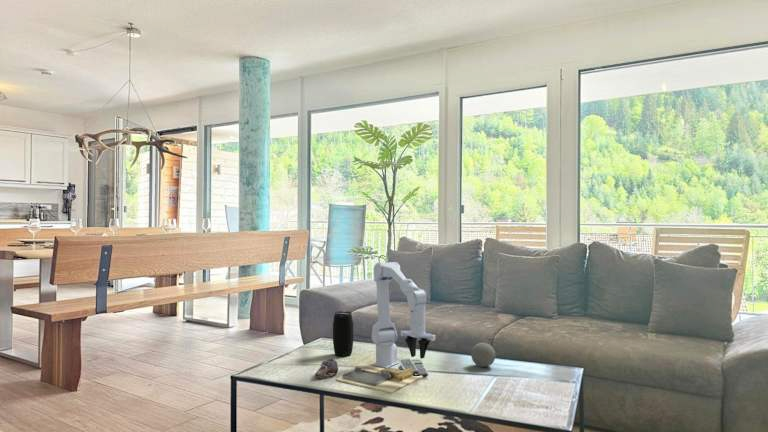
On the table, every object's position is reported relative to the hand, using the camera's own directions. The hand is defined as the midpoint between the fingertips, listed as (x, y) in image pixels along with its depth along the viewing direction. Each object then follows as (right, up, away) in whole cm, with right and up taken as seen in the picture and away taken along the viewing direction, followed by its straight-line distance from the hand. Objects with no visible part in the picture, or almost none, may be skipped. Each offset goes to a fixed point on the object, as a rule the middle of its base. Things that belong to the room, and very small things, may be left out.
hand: (417, 357), depth 199 cm
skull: (-37, -10, +8) cm, 39 cm away
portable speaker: (-32, -10, +40) cm, 52 cm away
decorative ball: (+29, -10, +20) cm, 36 cm away
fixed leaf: (-20, -9, +2) cm, 22 cm away
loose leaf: (-9, -9, +6) cm, 14 cm away
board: (-15, -10, +4) cm, 18 cm away
